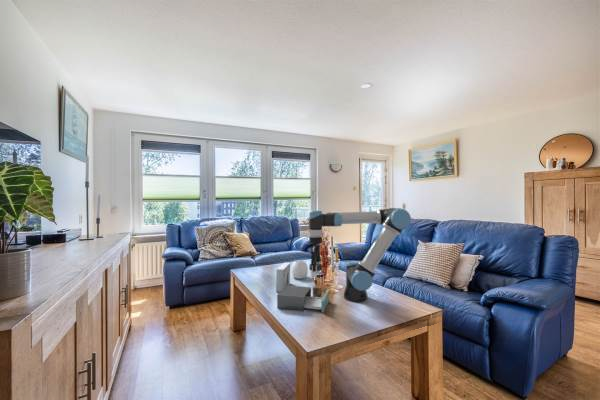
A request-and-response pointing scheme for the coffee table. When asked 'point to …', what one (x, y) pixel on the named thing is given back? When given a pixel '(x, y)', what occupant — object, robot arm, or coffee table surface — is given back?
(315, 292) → the walnut block
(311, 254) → the robot arm
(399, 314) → the coffee table surface
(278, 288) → the skincare box
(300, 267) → the cup
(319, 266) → the puck
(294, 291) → the player housing
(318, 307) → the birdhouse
